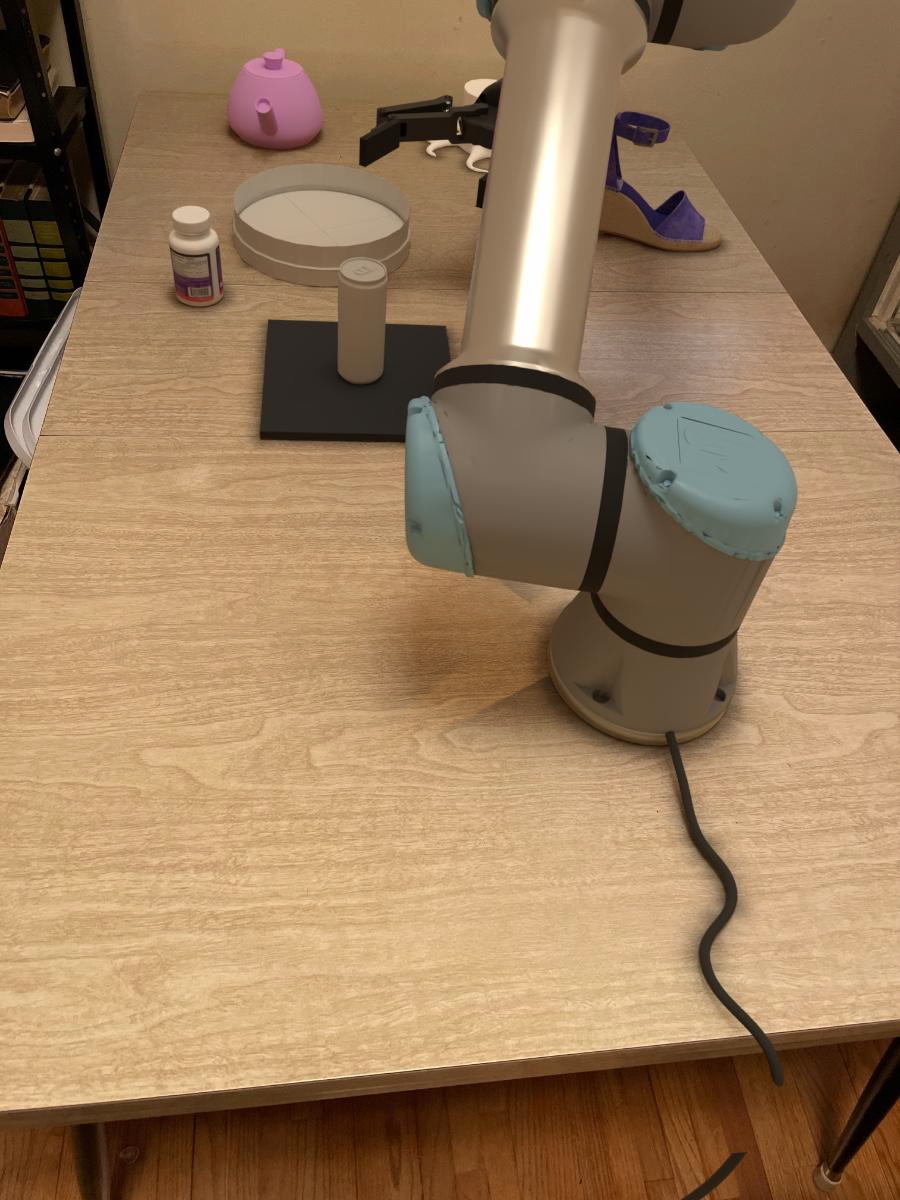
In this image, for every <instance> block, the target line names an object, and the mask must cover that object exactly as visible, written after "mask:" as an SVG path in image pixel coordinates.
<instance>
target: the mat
mask: <svg viewBox="0 0 900 1200" xmlns="http://www.w3.org/2000/svg"><path fill="white" fill-rule="evenodd" d="M266 327H267V329H266V342H265V343H266V344H265V355H264V356H265V357H264V367H263V368H264V369H263V380H262V381H263V382H262V397H261V398H262V399H261V407H260V408H261V409H260V425H259V438H260V440H289V441H290V440H291V441H294V440H295V441H336V442H337V441H339V442H343V441H344V442H385V443H386V442H388V443H389V442H390V443H393V442H395V443H405V441H406V424H407V416H408V404H409V402H410V401H411V400H412V399H415V398H420V397H422V396H426V397H428V398H429V399H431V395H432V389H433V383H434V377H435V375H436V373H437V371H438V370H439V369H441V368H442V367H444V366H445V365H447V364H448V363H450V362H451V361H452V356H451V349H450V344H449V343H450V342H449V338H448V337H449V336H448V330H447V325H441V324H440V325H438V324H437V325H436V324H414V323H413V324H410V323H386V324H385V343H384V363H383V373H382V375H381V376H380V377H379V378H378V379H377V380H376V381H374V382H372V383H368V384H353V383H350V382H348V381H346V380H345V379H344V378H343V377H342V376H341V375H340V374H339V372H338V321H327V320H326V321H325V320H324V321H323V320H301V319H300V320H299V319H298V320H297V319H273V318H272V319H271V318H270V319H267V326H266Z"/></svg>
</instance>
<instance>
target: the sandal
mask: <svg viewBox="0 0 900 1200" xmlns="http://www.w3.org/2000/svg"><path fill="white" fill-rule="evenodd" d="M671 128H672V127H671V124H670V123H669V122H668V121H666V120H665V119H663V118H661V117H659V116H654V115H651V114H648V113H645V112H638V111H630V110H624V111H618V112H617V114H615V120H614V127H613V134H612V141H611V148H610V155H609V162H608V169H607V176H606V183H605V190H604V197H603V204H602V211H601V218H600V225H599V232H598V235H605V234H611V235H614V236H615V235H616V236H619V237H623V238H625V239H629V240H633V241H635V242H638V243H642V244H645V245H648V246H650V247H654V248H657V249H661V250H664V251H669V252H683V253H695V252H706V251H710V250H714V249H716V248H717V247H719V245H720V243H721V241H722V238H723V233H722V231H721V230H720V229H719V228H717V227H715V226H714V225H712V224H709V223H706V218H705V217H704V216H703V215H702V214H700V212H699V211H698V210H697V209H696V208H695V206H694V205H693V203H692V202H691V201H690V199H689V197H688V194H687V192H686V191H685V190H684V189H681V190H680V189H679V190H677V191H676V192H675V193H673V194H671V196H669V197H668V198H667V199H666V200H665V201H664V202H662V203H661V204H660V205H658V207H657V208H655V209H654V208H653V207H652V206H651V204H649V203H648V202H647V200H646V199H645V198H644V197H643V196H642V194H641V193H640V192H639V191H637V189H635V187H633V186H632V185H631V184H630V183H628V182H627V181H626V180H624V179H623V174H622V168H621V162H620V155H619V154H620V153H619V145H618V137H620V138H621V139H624V140H627V141H630V142H632V144H633V145H634V146H637V147H642V148H649V149H652V148H654V145H659V144H664V143H665V142H667V140H668V137H669V133H670V132H671Z"/></svg>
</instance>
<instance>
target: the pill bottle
mask: <svg viewBox="0 0 900 1200" xmlns="http://www.w3.org/2000/svg"><path fill="white" fill-rule="evenodd" d="M171 219H172V226H173V230H172V231H171V232H170V233H169V235H168V246H169V252H170V260H171V267H172V274H173V281H174V290H175V295H176V298H177V299H178V301H180V302H181V303H182V304H185V305H187V306H191V307H198V308H199V307H202V308H203V307H210V306H212V305H215V304H217V303H218V302H220V301H221V300H222V298H223V296H224V281H223V280H224V279H223V269H222V259H221V249H220V248H221V247H220V239H219V235H218V234H217V232H216V231H215V230H214V229H213V228H212V221H211V214H210V212H209V210H207V208H204V207H202V206H197V205H185V206H180V207H178V208H176V209H174V210H173V211H172V213H171Z"/></svg>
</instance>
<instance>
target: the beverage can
mask: <svg viewBox="0 0 900 1200" xmlns="http://www.w3.org/2000/svg"><path fill="white" fill-rule="evenodd" d="M388 279H389V277H388V275H387V270H386V267H385V266H384V264H382V263H381V262H379V261H377V260H375V259H371V258H365V257H356V258H351V259H347V260H346V261H344V262H343V263H342V264H341V265H340V271H339V274H338V286H337V322H338V372H339V374H340V375H341V376H342V377H343V378H344V379H345V380H346V381H348V382H350V383H353V384H368V383H372V382H374V381H376V380H377V379H378V378H379V377H380V376H381V375H382V373H383V363H384V343H385V324H387V323H386V321H387V303H388V302H387V300H388V281H389V280H388Z"/></svg>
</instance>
